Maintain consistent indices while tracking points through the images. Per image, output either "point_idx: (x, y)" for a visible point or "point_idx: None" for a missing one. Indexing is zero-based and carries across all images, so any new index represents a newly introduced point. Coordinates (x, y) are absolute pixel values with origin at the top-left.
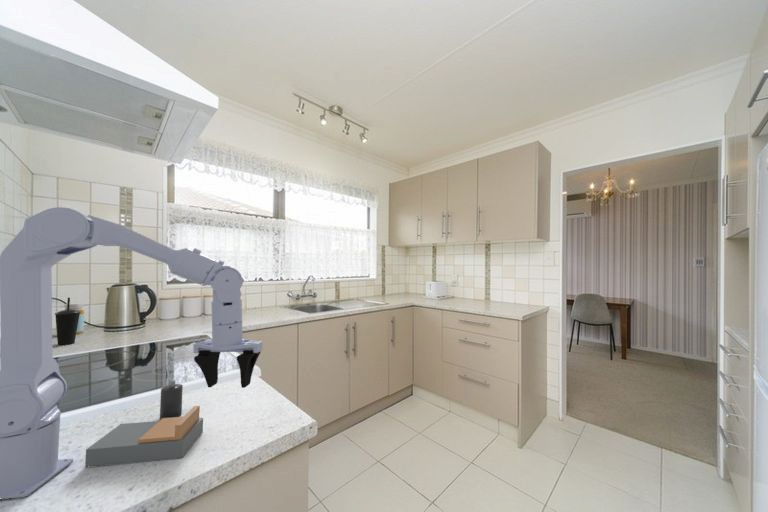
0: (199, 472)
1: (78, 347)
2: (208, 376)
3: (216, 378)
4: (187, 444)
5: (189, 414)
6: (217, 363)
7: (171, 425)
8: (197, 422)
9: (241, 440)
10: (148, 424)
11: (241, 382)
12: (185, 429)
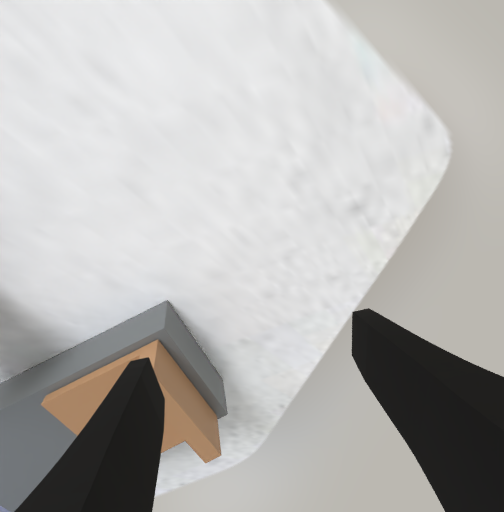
0: (296, 387)
1: None
2: (155, 483)
3: (144, 387)
4: (214, 379)
5: (184, 420)
6: (94, 491)
7: None
8: (175, 352)
9: (309, 288)
10: (20, 418)
11: (372, 385)
12: (205, 412)
